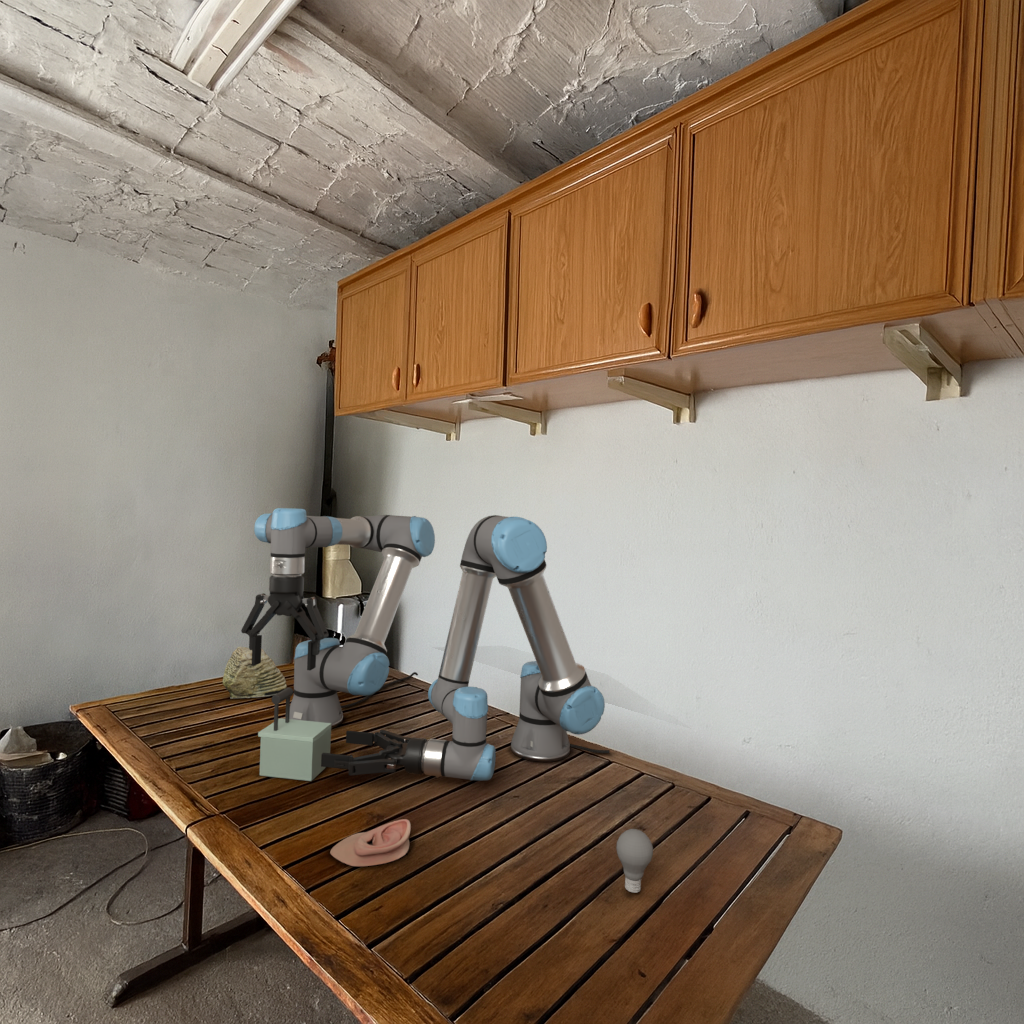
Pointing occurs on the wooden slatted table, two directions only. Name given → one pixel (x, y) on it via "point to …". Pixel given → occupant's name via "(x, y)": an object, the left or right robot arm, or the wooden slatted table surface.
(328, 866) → the wooden slatted table surface
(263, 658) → the fossil
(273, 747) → the chest
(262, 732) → the lid
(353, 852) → the anatomical model
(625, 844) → the light bulb
